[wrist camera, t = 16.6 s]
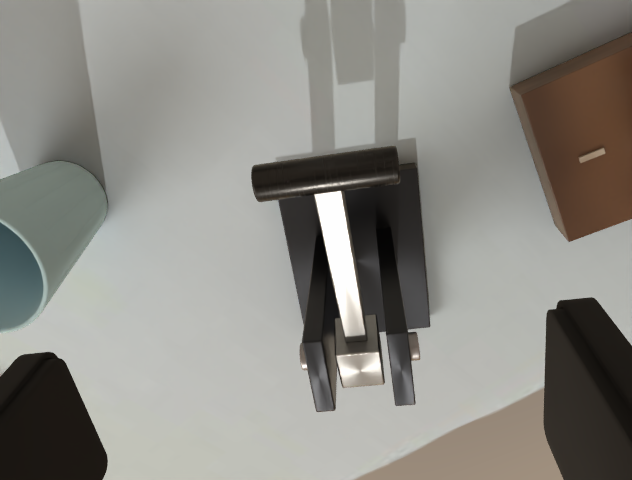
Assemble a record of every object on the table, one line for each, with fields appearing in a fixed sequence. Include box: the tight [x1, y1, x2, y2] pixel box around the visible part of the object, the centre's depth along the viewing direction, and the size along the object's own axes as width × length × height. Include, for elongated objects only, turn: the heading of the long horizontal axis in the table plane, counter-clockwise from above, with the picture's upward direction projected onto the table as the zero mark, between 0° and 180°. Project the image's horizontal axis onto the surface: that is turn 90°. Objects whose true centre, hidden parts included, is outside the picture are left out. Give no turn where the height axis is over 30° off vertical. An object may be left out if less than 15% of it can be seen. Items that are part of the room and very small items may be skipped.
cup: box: [0, 161, 107, 333], centre depth 32 cm, size 8×8×10 cm
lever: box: [251, 146, 400, 388], centre depth 24 cm, size 13×6×2 cm, turn 10°
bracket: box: [278, 163, 430, 412], centre depth 32 cm, size 12×9×13 cm
